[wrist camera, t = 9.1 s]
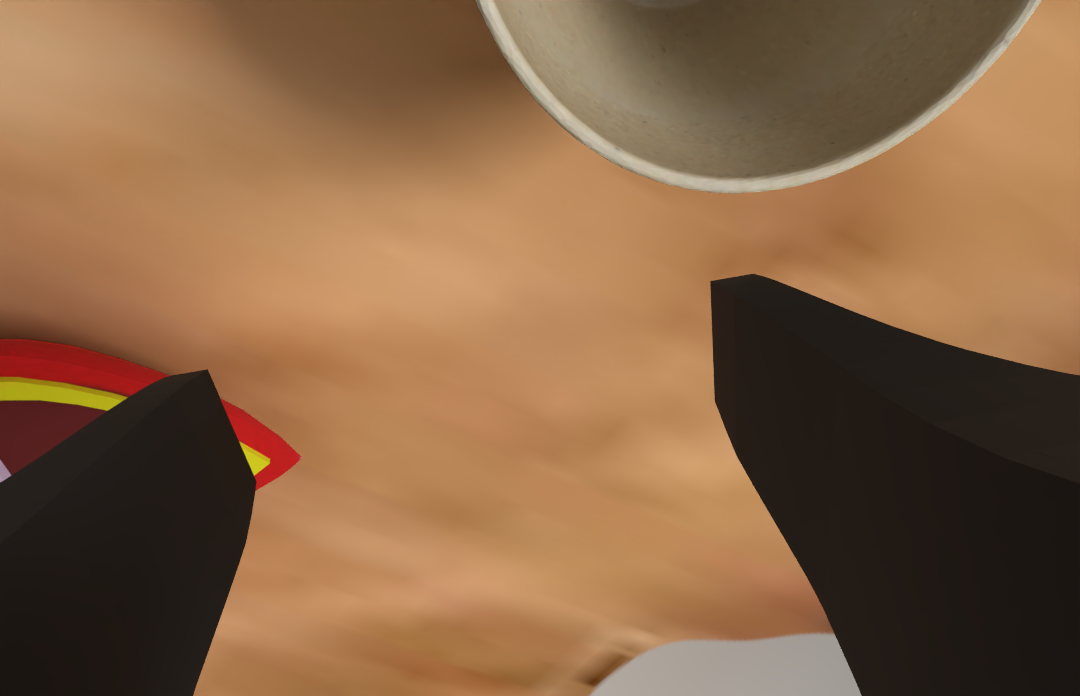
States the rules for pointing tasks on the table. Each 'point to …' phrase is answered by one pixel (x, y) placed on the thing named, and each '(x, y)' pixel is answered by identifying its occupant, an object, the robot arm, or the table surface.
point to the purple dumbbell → (94, 404)
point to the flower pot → (748, 78)
